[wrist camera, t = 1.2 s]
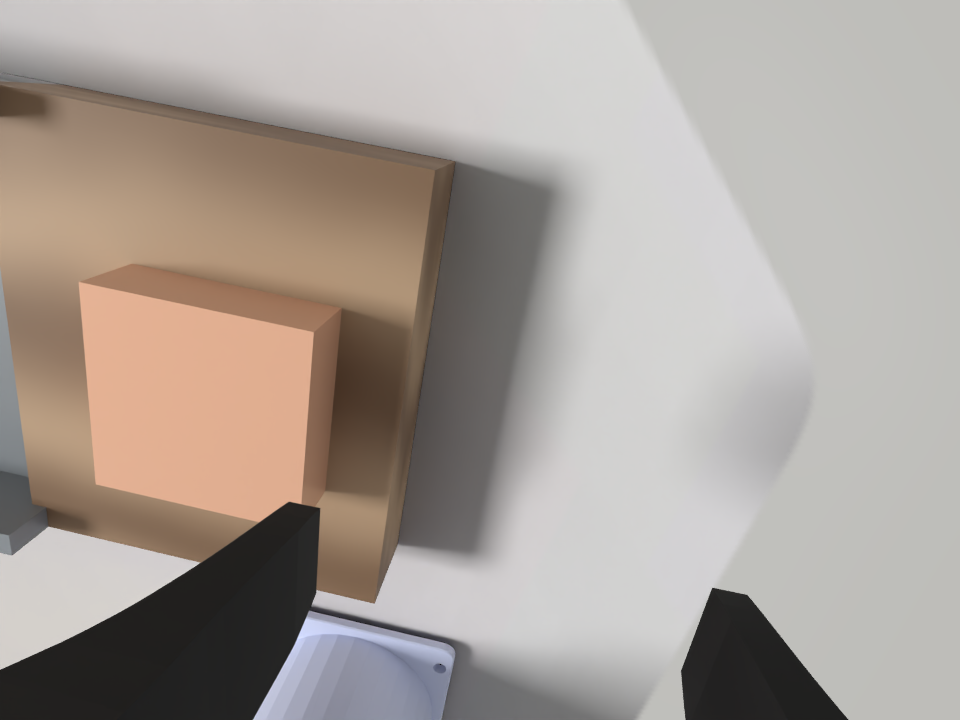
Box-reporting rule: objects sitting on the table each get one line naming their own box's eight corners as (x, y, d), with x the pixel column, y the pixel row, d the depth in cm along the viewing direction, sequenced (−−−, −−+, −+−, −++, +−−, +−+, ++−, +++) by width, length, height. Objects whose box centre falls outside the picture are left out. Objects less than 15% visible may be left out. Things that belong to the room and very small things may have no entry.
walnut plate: (397, 545, 23) (374, 603, 20) (96, 475, 24) (34, 523, 21) (455, 161, 18) (435, 170, 15) (63, 84, 18) (-26, 79, 16)
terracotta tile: (325, 490, 19) (299, 531, 17) (140, 449, 19) (95, 484, 17) (341, 308, 17) (313, 332, 15) (131, 263, 17) (78, 282, 15)
